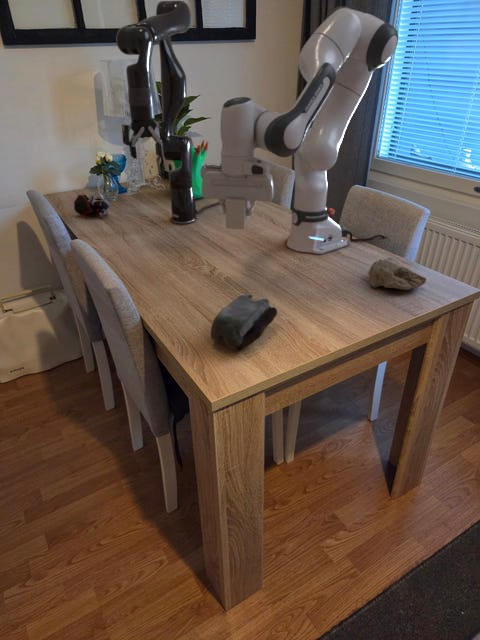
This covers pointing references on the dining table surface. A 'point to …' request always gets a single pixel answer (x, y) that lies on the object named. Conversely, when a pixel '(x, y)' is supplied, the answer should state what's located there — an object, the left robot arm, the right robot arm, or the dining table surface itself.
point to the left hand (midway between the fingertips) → (146, 156)
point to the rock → (242, 322)
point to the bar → (237, 213)
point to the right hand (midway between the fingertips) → (237, 214)
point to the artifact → (393, 275)
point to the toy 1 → (90, 206)
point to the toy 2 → (196, 167)
